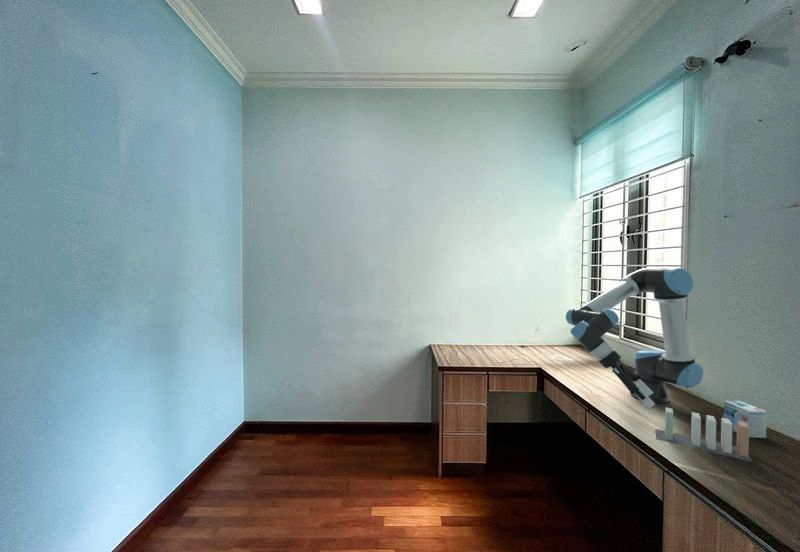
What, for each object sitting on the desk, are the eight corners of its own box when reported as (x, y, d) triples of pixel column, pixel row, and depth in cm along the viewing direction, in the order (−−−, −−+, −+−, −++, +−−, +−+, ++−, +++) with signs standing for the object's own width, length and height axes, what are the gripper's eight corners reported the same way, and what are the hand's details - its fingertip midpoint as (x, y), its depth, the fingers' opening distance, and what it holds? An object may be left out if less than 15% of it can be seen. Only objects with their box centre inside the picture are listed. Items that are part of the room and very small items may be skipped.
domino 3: (705, 442, 122) (706, 414, 122) (713, 444, 121) (713, 416, 121) (707, 448, 118) (708, 419, 118) (715, 450, 117) (716, 421, 117)
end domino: (736, 449, 118) (737, 420, 118) (744, 451, 117) (745, 422, 116) (739, 455, 114) (740, 426, 113) (748, 457, 112) (749, 427, 112)
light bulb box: (722, 426, 137) (722, 400, 137) (739, 426, 137) (740, 400, 136) (748, 439, 126) (749, 411, 126) (767, 440, 126) (768, 411, 126)
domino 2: (691, 439, 125) (691, 412, 124) (698, 440, 123) (698, 413, 123) (692, 444, 121) (693, 416, 120) (700, 446, 119) (700, 418, 119)
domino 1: (665, 433, 129) (665, 407, 129) (671, 434, 128) (672, 408, 128) (665, 438, 125) (666, 411, 125) (672, 440, 124) (673, 413, 124)
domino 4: (720, 445, 120) (721, 417, 120) (728, 447, 119) (729, 419, 119) (723, 451, 116) (724, 422, 116) (731, 453, 115) (732, 424, 115)
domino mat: (655, 430, 133) (655, 428, 133) (744, 450, 118) (744, 448, 118) (656, 441, 125) (656, 439, 125) (752, 464, 110) (752, 461, 110)
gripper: (600, 354, 149) (641, 395, 141) (594, 367, 128) (643, 417, 120) (614, 343, 146) (658, 385, 138) (611, 355, 125) (662, 405, 117)
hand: (651, 400), depth 129 cm, fingers open, 13 cm apart
